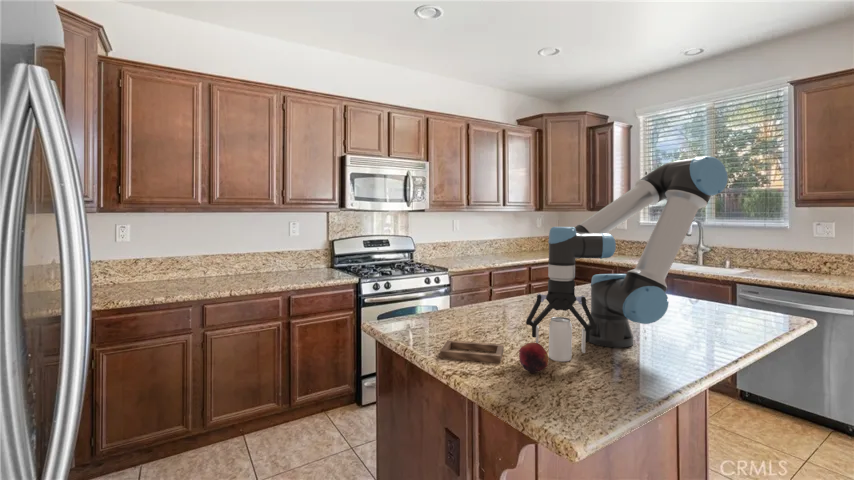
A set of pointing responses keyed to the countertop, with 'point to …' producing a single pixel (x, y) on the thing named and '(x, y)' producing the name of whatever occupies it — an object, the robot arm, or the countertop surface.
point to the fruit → (533, 357)
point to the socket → (472, 356)
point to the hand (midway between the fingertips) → (559, 349)
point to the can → (560, 339)
